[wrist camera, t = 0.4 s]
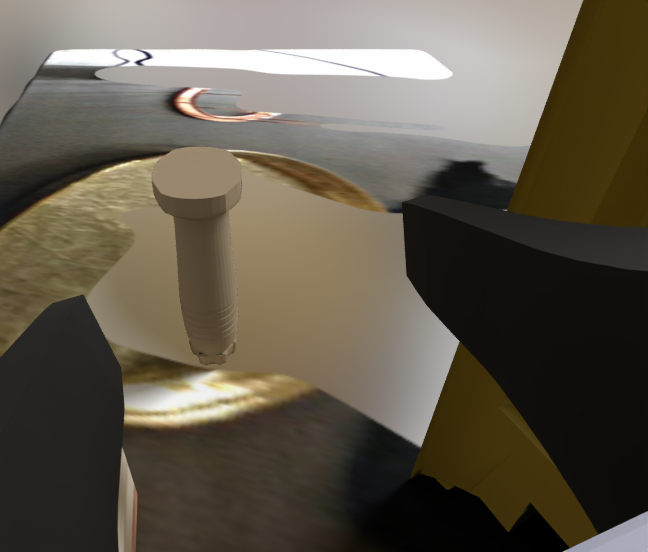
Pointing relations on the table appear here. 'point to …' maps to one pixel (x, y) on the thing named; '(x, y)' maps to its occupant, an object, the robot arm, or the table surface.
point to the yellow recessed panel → (565, 205)
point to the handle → (203, 243)
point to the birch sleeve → (126, 509)
